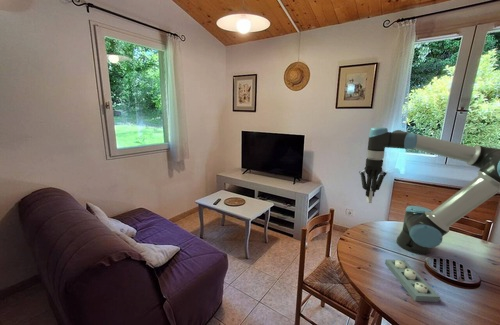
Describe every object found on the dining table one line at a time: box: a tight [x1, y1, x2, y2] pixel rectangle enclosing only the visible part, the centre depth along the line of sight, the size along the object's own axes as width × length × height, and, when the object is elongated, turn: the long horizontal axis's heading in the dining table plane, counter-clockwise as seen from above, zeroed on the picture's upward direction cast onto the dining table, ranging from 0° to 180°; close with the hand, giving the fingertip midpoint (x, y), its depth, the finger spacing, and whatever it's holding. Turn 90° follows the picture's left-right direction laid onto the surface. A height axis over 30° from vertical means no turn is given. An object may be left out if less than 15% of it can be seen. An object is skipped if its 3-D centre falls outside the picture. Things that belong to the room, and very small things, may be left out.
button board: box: [384, 258, 441, 303], centre depth 98 cm, size 9×22×2 cm, turn 177°
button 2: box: [404, 268, 418, 280], centre depth 98 cm, size 4×4×3 cm
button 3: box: [414, 282, 428, 293], centre depth 91 cm, size 4×4×3 cm
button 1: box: [395, 259, 406, 269], centre depth 105 cm, size 4×4×3 cm
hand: (368, 202), depth 117 cm, fingers closed
